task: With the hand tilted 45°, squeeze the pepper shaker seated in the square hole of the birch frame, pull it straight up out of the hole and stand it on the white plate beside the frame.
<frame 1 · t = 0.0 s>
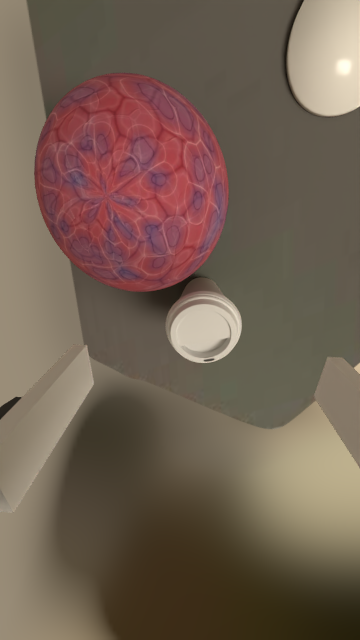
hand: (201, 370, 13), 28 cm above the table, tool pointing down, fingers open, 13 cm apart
white plate: (344, 45, 26), on the table
decorative sphere: (154, 207, 35), on the table
coffee cup: (201, 294, 40), on the table
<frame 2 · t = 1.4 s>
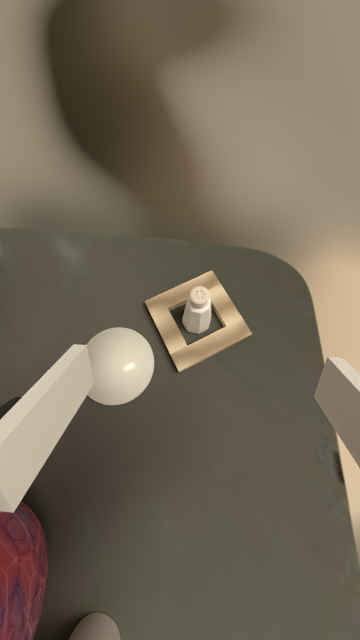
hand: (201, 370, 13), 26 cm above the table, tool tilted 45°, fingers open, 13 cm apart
pepper shaker: (196, 320, 41), resting in birch frame
birch frame: (196, 320, 41), on the table
white plate: (117, 364, 38), on the table
decorative sphere: (7, 551, 31), on the table
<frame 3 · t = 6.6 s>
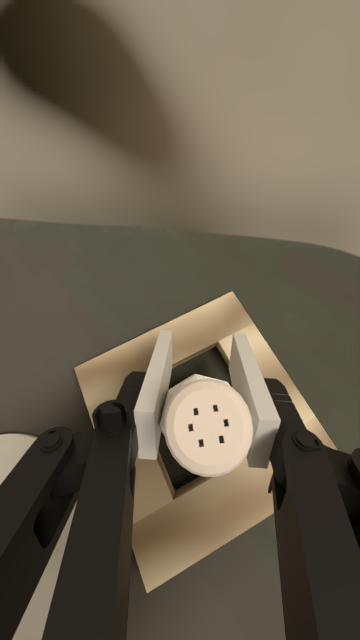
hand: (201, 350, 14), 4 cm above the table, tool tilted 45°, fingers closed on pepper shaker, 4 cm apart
pepper shaker: (197, 411, 17), resting in birch frame, touching gripper
birch frame: (197, 411, 17), on the table
when the fingers open (6 cm above the table, at t = 12.5 s): pepper shaker drops 1 cm, resting on white plate.
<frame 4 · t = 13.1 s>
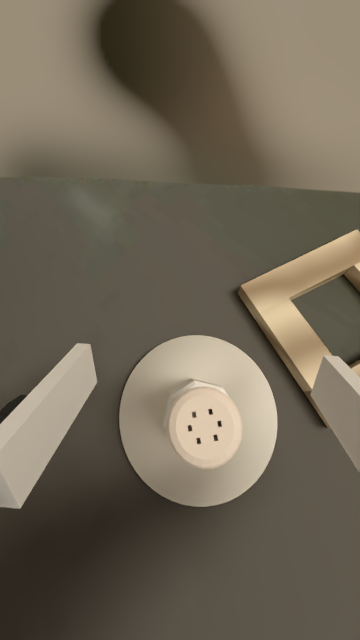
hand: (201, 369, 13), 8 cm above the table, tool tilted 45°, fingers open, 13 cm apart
pepper shaker: (196, 411, 19), point 1 cm above the table, touching white plate
birch frame: (338, 320, 21), on the table
white plate: (196, 410, 19), on the table
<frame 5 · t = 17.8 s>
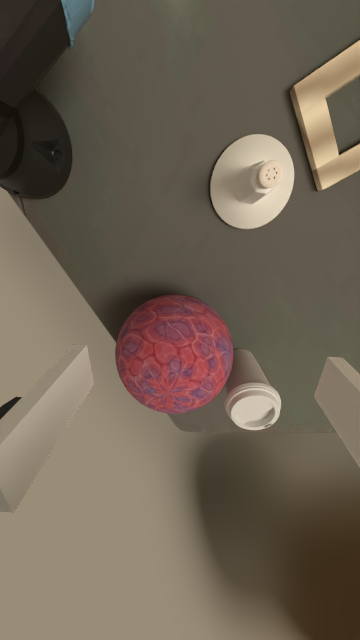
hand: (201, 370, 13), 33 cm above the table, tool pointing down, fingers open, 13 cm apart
pepper shaker: (250, 186, 36), point 1 cm above the table, touching white plate
birch frame: (354, 114, 32), on the table
white plate: (250, 185, 36), on the table
decorative sphere: (179, 326, 48), on the table
coffee cup: (239, 360, 51), on the table
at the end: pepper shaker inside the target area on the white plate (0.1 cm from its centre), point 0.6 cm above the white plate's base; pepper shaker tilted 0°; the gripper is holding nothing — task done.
